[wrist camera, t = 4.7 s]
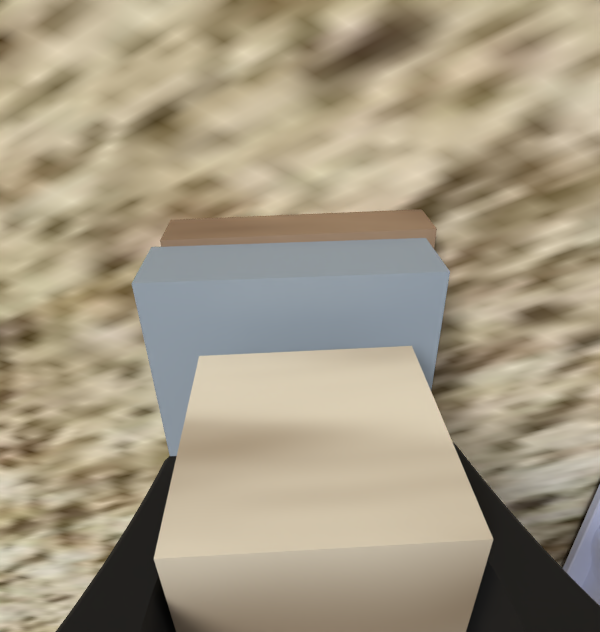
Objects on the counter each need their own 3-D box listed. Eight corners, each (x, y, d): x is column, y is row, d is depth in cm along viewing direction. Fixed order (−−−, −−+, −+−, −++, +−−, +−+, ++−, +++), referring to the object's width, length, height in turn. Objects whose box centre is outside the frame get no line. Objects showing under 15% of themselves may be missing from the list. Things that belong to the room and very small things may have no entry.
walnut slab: (398, 390, 18) (411, 429, 16) (205, 400, 18) (198, 440, 16) (417, 203, 14) (436, 228, 12) (174, 213, 14) (160, 240, 12)
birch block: (395, 487, 13) (448, 691, 9) (222, 497, 13) (199, 707, 9) (411, 345, 10) (492, 539, 6) (199, 355, 10) (154, 558, 6)
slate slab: (401, 435, 16) (416, 484, 14) (189, 445, 16) (179, 496, 14) (425, 237, 12) (449, 271, 11) (151, 247, 12) (131, 283, 11)
